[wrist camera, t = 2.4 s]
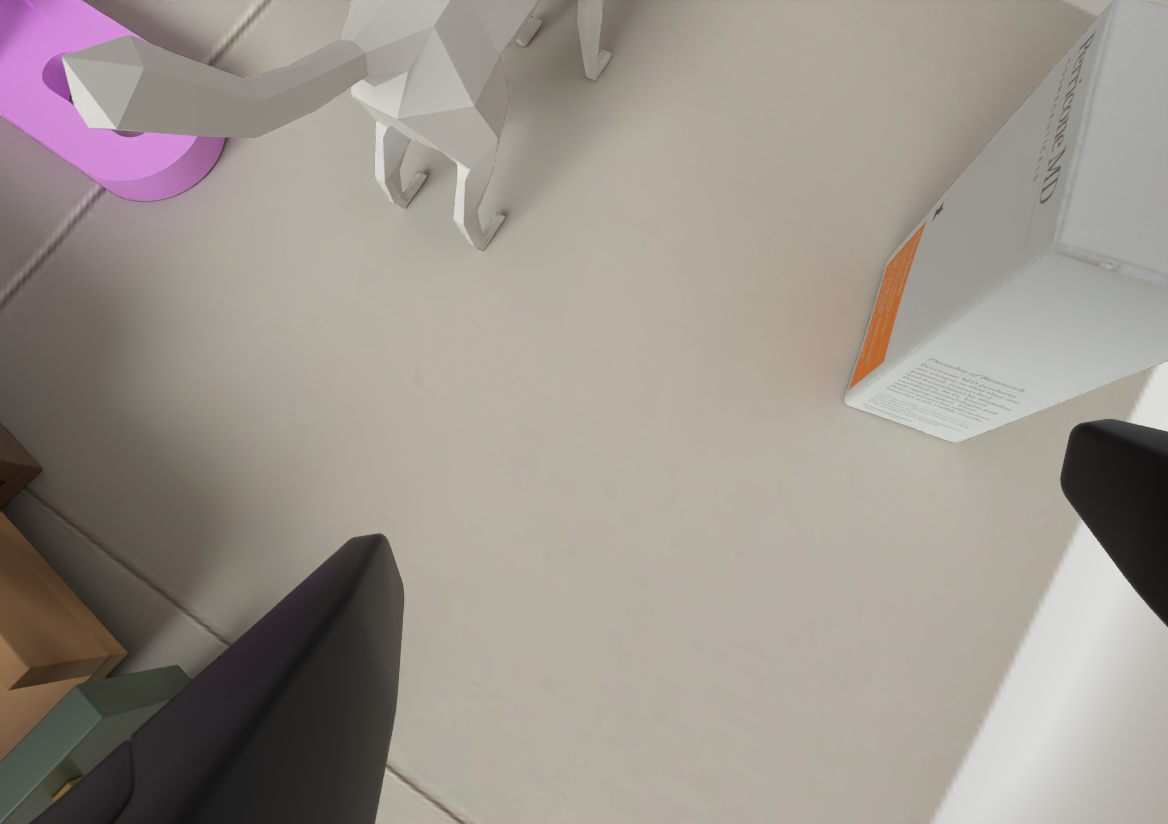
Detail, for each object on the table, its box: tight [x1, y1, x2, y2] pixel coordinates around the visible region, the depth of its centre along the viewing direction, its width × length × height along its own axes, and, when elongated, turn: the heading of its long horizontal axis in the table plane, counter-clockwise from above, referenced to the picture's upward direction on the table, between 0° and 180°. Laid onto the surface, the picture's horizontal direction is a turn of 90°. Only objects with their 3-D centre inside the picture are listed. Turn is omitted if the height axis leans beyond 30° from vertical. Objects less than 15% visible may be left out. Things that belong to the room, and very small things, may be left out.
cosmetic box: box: [843, 0, 1168, 443], centre depth 18 cm, size 6×4×12 cm
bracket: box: [0, 0, 225, 201], centre depth 25 cm, size 13×6×7 cm, turn 56°
